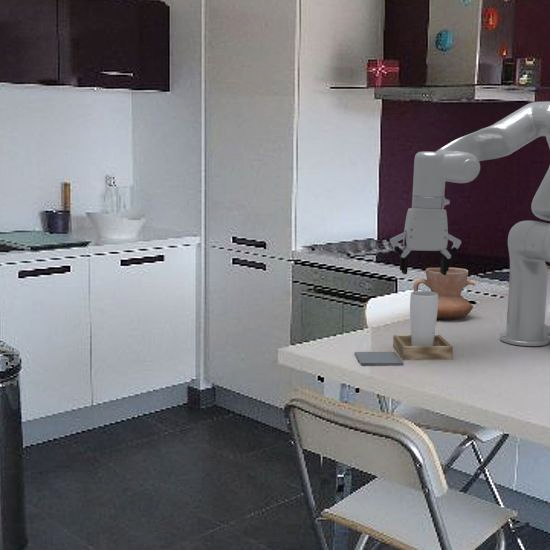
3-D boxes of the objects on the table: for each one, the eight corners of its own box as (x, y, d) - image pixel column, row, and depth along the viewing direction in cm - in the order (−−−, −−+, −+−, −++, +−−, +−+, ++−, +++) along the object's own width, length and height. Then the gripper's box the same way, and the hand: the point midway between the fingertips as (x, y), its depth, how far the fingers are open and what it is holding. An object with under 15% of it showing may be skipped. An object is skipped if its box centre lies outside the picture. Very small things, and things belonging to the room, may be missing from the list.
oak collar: (439, 346, 216) (440, 334, 215) (452, 359, 204) (452, 347, 204) (393, 346, 215) (393, 335, 214) (403, 359, 203) (403, 347, 203)
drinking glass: (435, 357, 206) (438, 296, 203) (407, 355, 207) (409, 295, 204) (436, 350, 212) (438, 291, 210) (408, 348, 213) (411, 290, 211)
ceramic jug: (475, 313, 254) (477, 267, 252) (473, 323, 241) (475, 274, 238) (415, 310, 259) (416, 265, 257) (410, 320, 245) (411, 272, 243)
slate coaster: (394, 353, 208) (394, 351, 208) (403, 365, 198) (403, 362, 198) (354, 354, 207) (354, 351, 207) (361, 365, 198) (361, 363, 197)
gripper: (458, 203, 207) (454, 271, 210) (389, 201, 206) (385, 270, 209) (467, 205, 200) (463, 277, 203) (395, 204, 199) (391, 275, 202)
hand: (423, 273), depth 206 cm, fingers open, 9 cm apart
